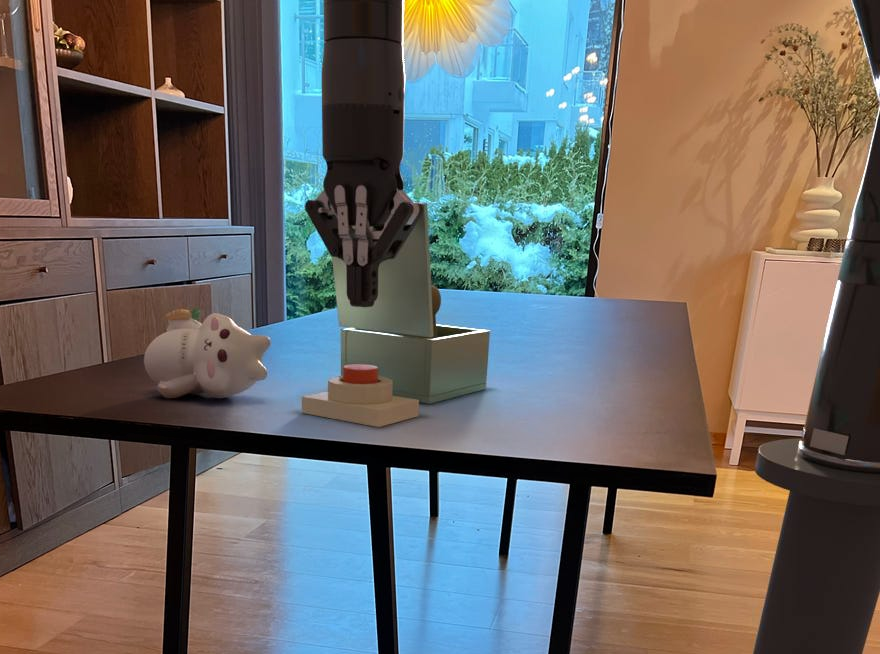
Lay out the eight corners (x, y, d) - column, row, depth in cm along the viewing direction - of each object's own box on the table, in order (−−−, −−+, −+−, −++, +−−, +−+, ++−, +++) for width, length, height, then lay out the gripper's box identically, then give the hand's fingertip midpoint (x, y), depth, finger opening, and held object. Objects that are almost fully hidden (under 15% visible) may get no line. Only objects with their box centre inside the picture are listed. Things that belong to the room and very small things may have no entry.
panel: (418, 416, 93) (419, 382, 92) (379, 427, 88) (379, 391, 87) (343, 403, 99) (343, 370, 97) (301, 412, 93) (301, 378, 92)
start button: (384, 384, 92) (385, 366, 92) (363, 388, 90) (364, 371, 89) (357, 380, 94) (357, 362, 94) (335, 384, 92) (335, 366, 91)
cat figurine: (131, 302, 97) (257, 293, 92) (171, 336, 105) (289, 328, 100) (122, 387, 96) (248, 381, 91) (162, 414, 104) (281, 410, 99)
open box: (401, 376, 115) (403, 320, 112) (486, 389, 109) (490, 330, 106) (340, 389, 106) (340, 329, 103) (429, 404, 99) (432, 340, 97)
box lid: (329, 199, 96) (325, 200, 95) (427, 202, 89) (424, 203, 89) (342, 325, 103) (338, 326, 103) (433, 336, 97) (430, 337, 96)
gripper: (280, 102, 82) (286, 304, 89) (398, 96, 75) (394, 314, 83) (332, 110, 87) (334, 299, 95) (446, 105, 81) (438, 309, 88)
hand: (362, 306), depth 89 cm, fingers closed
